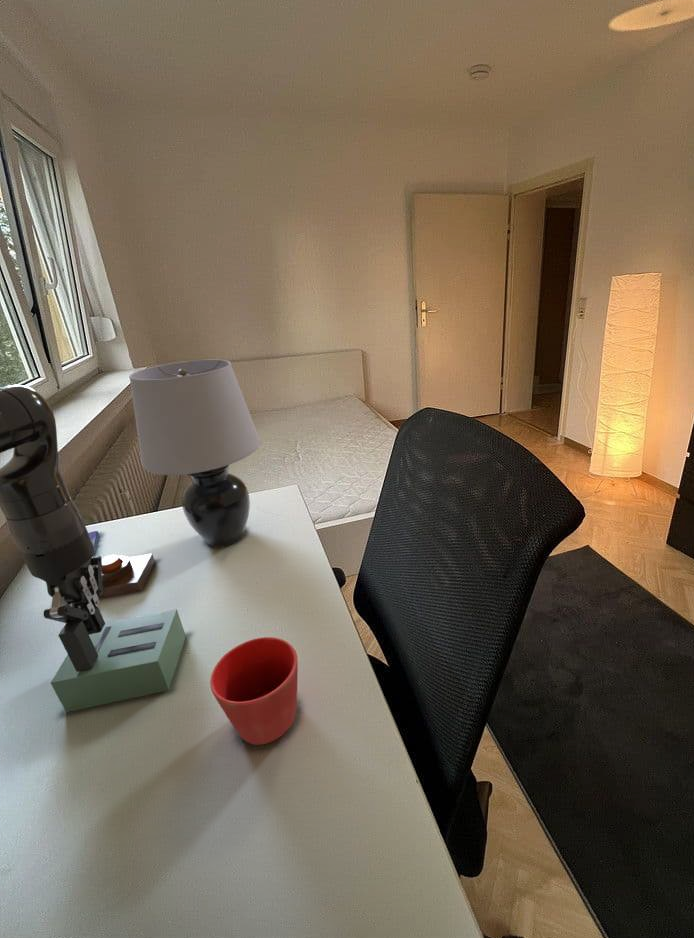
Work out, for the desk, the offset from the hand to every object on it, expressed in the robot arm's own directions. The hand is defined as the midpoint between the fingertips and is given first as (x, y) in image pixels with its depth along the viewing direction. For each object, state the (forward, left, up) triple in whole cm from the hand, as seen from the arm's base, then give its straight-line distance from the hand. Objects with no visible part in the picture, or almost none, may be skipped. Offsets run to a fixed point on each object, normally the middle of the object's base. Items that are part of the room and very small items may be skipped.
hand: (96, 629), depth 67 cm
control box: (-8, +25, -8) cm, 28 cm away
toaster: (+3, -1, -8) cm, 9 cm away
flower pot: (+25, -15, -9) cm, 30 cm away
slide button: (0, -4, -2) cm, 5 cm away
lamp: (+12, +36, -9) cm, 39 cm away
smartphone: (-21, +39, -8) cm, 45 cm away
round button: (-8, +25, -5) cm, 27 cm away
